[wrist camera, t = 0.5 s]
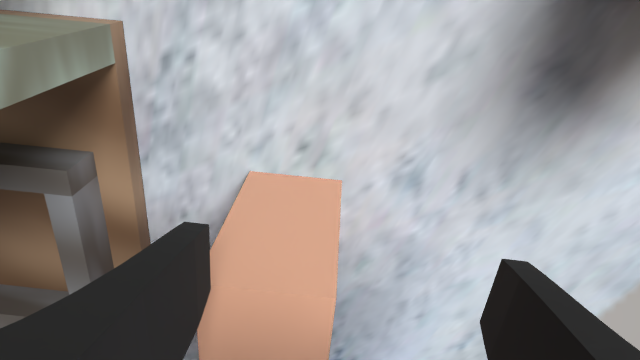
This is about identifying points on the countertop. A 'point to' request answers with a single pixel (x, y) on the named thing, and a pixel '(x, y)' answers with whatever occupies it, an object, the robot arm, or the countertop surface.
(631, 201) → the countertop surface
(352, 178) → the countertop surface
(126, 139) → the socket stand
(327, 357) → the peg
